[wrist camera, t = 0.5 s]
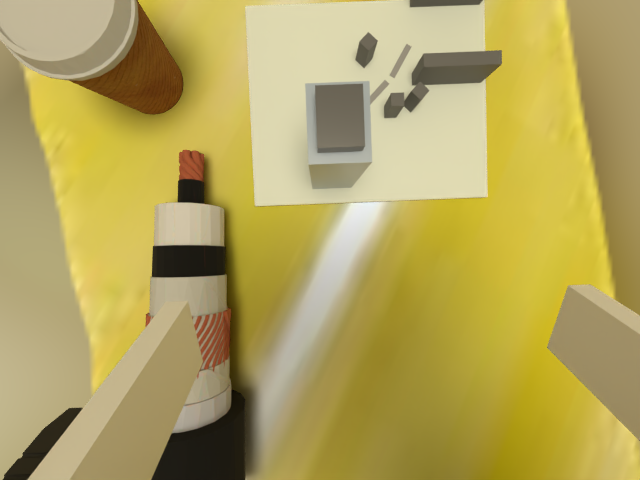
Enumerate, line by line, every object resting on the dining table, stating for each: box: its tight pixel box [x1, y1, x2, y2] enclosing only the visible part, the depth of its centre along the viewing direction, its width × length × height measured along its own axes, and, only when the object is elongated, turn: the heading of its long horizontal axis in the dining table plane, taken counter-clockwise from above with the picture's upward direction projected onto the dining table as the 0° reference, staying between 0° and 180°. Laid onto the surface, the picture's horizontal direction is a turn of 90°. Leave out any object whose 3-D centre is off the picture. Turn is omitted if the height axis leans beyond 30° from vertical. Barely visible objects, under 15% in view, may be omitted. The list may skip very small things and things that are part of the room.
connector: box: [305, 81, 372, 189], centre depth 24 cm, size 5×4×13 cm
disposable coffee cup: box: [0, 0, 183, 114], centre depth 25 cm, size 10×10×12 cm
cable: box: [146, 150, 245, 480], centre depth 28 cm, size 10×34×10 cm, turn 1°
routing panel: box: [245, 0, 502, 206], centre depth 29 cm, size 20×24×4 cm
